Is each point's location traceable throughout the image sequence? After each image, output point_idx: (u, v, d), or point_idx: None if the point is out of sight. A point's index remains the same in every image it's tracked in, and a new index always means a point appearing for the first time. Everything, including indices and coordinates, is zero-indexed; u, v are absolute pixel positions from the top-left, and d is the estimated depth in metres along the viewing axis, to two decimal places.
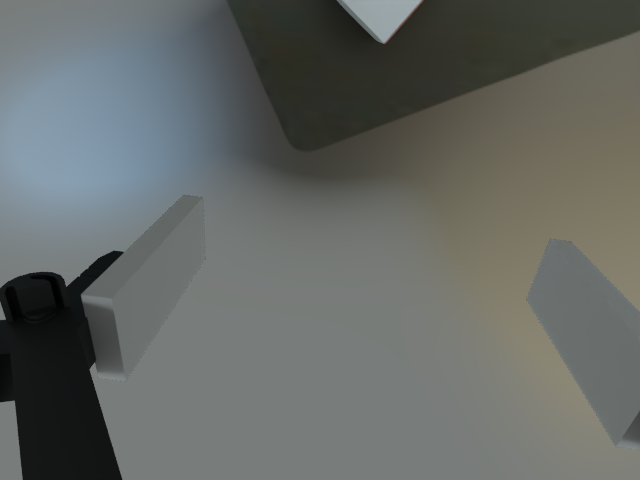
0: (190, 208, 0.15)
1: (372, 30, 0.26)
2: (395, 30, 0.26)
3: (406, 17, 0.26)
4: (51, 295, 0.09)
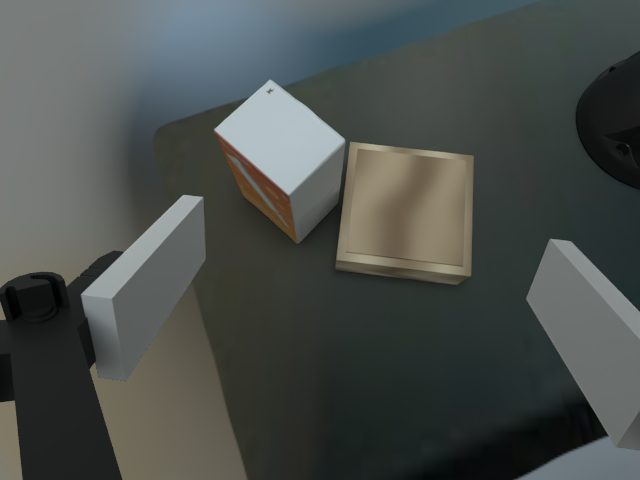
0: (190, 208, 0.15)
1: (224, 120, 0.31)
2: (223, 138, 0.31)
3: (232, 145, 0.31)
4: (51, 295, 0.09)
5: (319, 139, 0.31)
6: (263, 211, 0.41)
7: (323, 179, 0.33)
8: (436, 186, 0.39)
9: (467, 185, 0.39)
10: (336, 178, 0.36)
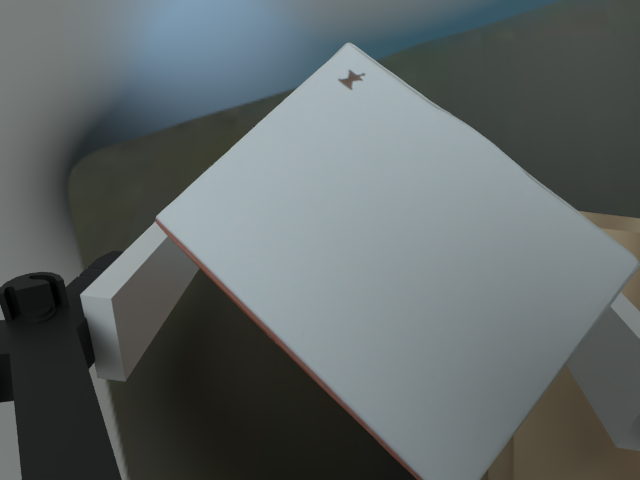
0: None
1: (195, 183, 0.09)
2: (188, 249, 0.08)
3: (221, 280, 0.08)
4: (50, 295, 0.09)
5: (547, 258, 0.08)
6: None
7: None
8: None
9: None
10: None
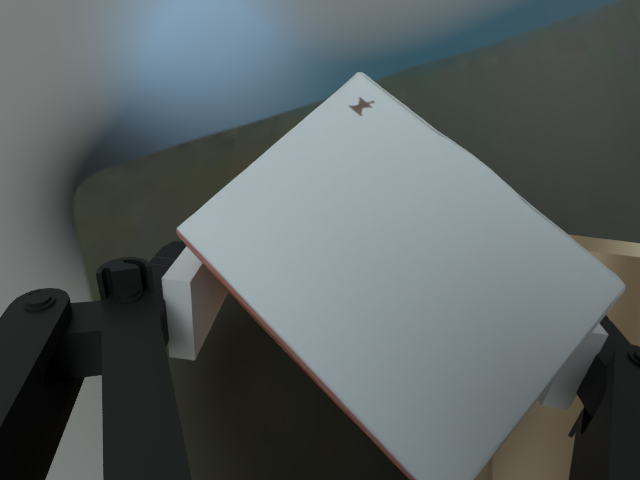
0: None
1: (214, 198, 0.09)
2: (205, 259, 0.09)
3: (235, 289, 0.09)
4: (139, 279, 0.10)
5: (538, 278, 0.09)
6: None
7: None
8: None
9: None
10: None
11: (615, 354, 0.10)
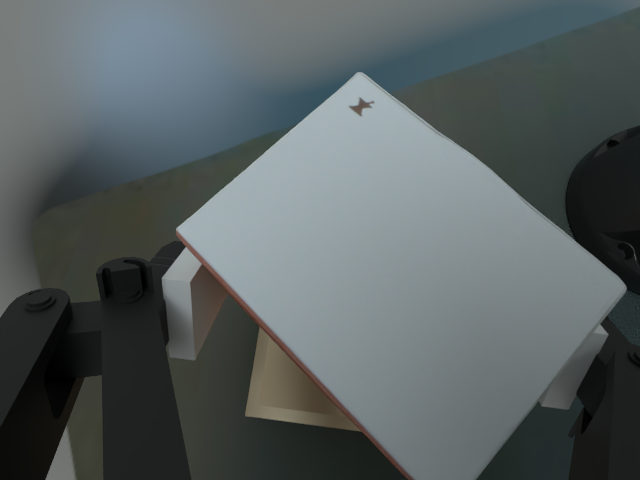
0: None
1: (213, 199, 0.09)
2: (205, 260, 0.09)
3: (234, 290, 0.09)
4: (139, 279, 0.10)
5: (539, 279, 0.09)
6: None
7: None
8: None
9: None
10: None
11: (615, 354, 0.10)
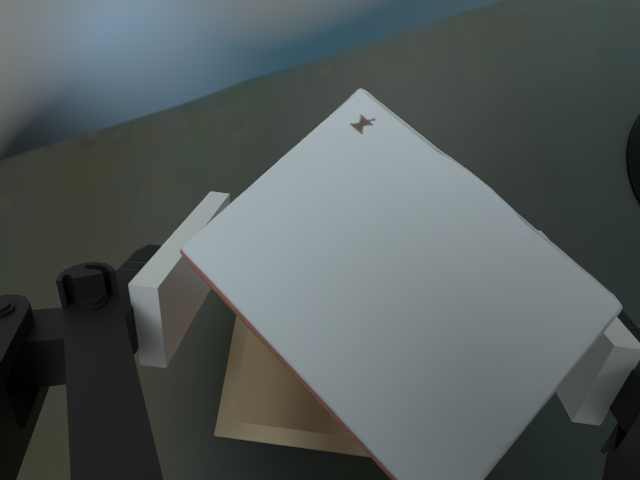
0: (219, 204, 0.15)
1: (217, 218, 0.10)
2: (209, 279, 0.09)
3: (238, 309, 0.09)
4: (103, 285, 0.10)
5: (536, 299, 0.09)
6: None
7: None
8: None
9: None
10: None
11: None
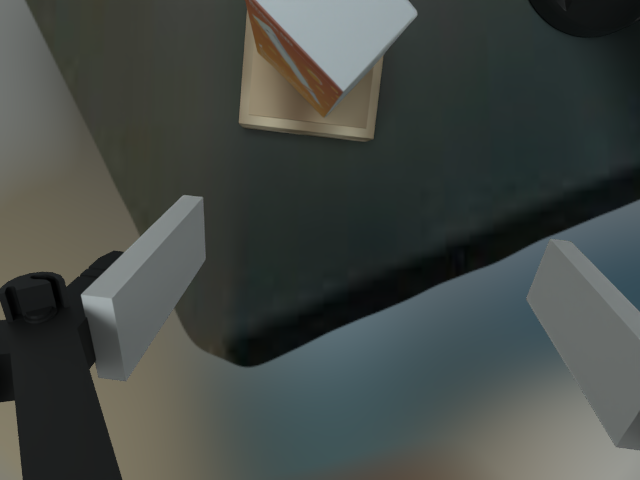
0: (190, 208, 0.15)
1: None
2: (256, 0, 0.23)
3: (268, 13, 0.23)
4: (51, 295, 0.09)
5: (385, 9, 0.23)
6: (285, 76, 0.34)
7: (377, 59, 0.27)
8: None
9: None
10: (387, 49, 0.29)
11: None
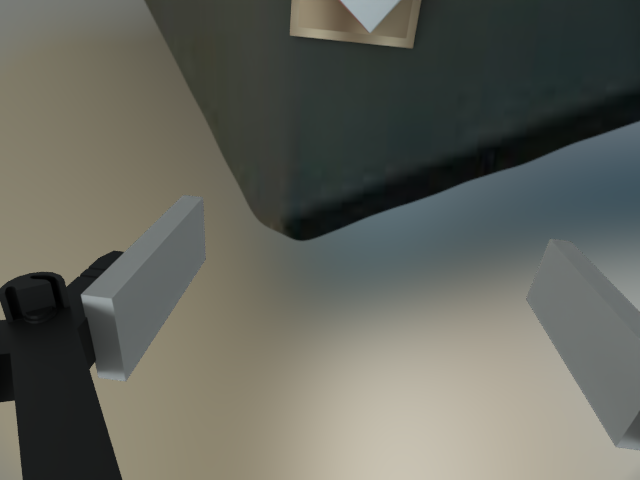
0: (190, 208, 0.15)
1: None
2: None
3: None
4: (51, 295, 0.09)
5: None
6: None
7: None
8: None
9: None
10: None
11: None
